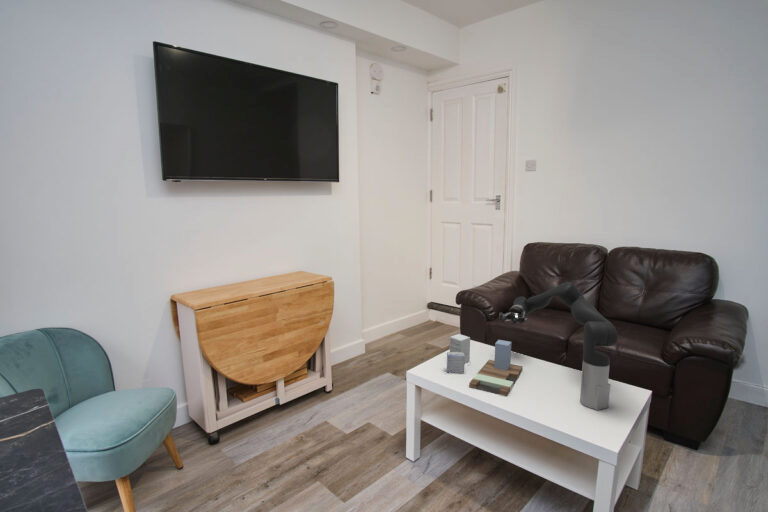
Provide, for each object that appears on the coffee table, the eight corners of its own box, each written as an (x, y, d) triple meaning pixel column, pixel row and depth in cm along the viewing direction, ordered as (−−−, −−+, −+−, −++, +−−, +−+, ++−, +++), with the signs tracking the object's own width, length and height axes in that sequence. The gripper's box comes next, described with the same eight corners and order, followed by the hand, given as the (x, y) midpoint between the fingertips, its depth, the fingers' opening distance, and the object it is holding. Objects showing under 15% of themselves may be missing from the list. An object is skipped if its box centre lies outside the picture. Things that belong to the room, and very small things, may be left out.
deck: (488, 363, 198) (488, 359, 198) (522, 370, 190) (522, 366, 190) (469, 387, 172) (469, 382, 172) (507, 396, 164) (507, 391, 164)
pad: (477, 377, 182) (477, 373, 181) (513, 385, 174) (513, 381, 173) (472, 382, 176) (473, 378, 176) (509, 391, 169) (510, 387, 168)
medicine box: (463, 369, 190) (463, 352, 189) (464, 373, 186) (464, 355, 185) (446, 369, 191) (446, 351, 190) (447, 372, 187) (447, 355, 186)
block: (497, 363, 193) (498, 339, 191) (510, 366, 190) (511, 341, 188) (494, 368, 187) (495, 343, 186) (507, 370, 184) (508, 345, 183)
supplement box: (458, 357, 206) (459, 333, 204) (469, 361, 200) (470, 337, 198) (448, 360, 201) (449, 336, 199) (460, 365, 195) (461, 340, 194)
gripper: (502, 304, 211) (493, 311, 196) (531, 307, 203) (524, 316, 189) (501, 318, 212) (493, 326, 197) (530, 322, 204) (523, 331, 190)
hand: (508, 321), depth 193 cm, fingers open, 4 cm apart
